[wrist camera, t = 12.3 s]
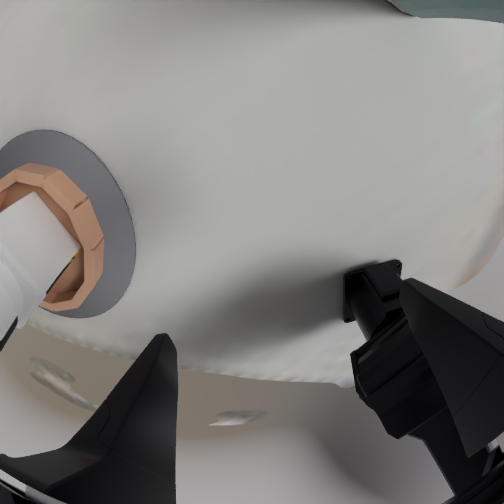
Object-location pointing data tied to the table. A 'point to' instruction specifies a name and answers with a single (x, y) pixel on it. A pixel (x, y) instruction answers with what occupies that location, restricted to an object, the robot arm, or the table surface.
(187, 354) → the table surface
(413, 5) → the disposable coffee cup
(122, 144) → the table surface
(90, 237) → the terracotta bowl
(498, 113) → the table surface
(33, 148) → the rubber mat
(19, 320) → the medicine bottle
